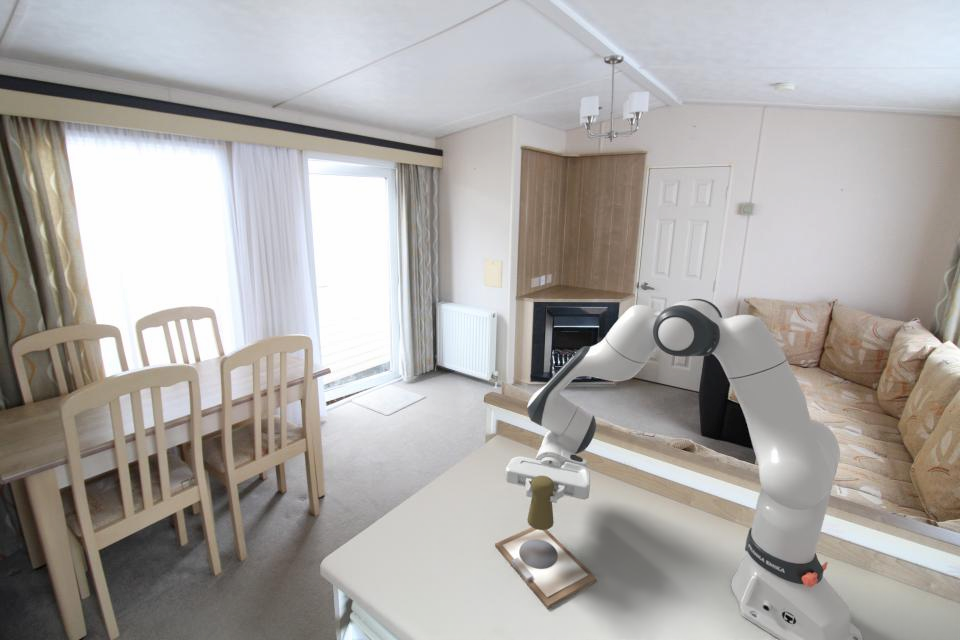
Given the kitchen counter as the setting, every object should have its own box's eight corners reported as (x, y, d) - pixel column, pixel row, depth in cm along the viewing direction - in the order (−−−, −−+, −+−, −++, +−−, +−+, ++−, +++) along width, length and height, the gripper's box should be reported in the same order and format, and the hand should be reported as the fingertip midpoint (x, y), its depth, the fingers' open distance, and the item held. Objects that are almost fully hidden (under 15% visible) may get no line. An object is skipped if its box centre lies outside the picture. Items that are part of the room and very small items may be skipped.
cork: (553, 531, 101) (556, 489, 98) (526, 528, 102) (528, 485, 99) (553, 514, 106) (556, 473, 104) (528, 510, 107) (530, 470, 105)
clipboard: (596, 580, 100) (596, 575, 100) (547, 608, 93) (547, 602, 93) (540, 526, 117) (540, 520, 116) (495, 546, 110) (495, 540, 109)
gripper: (513, 445, 116) (497, 475, 104) (593, 461, 110) (587, 495, 97) (512, 466, 118) (496, 498, 105) (591, 483, 112) (585, 519, 99)
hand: (541, 497), depth 101 cm, fingers closed on cork, 4 cm apart
